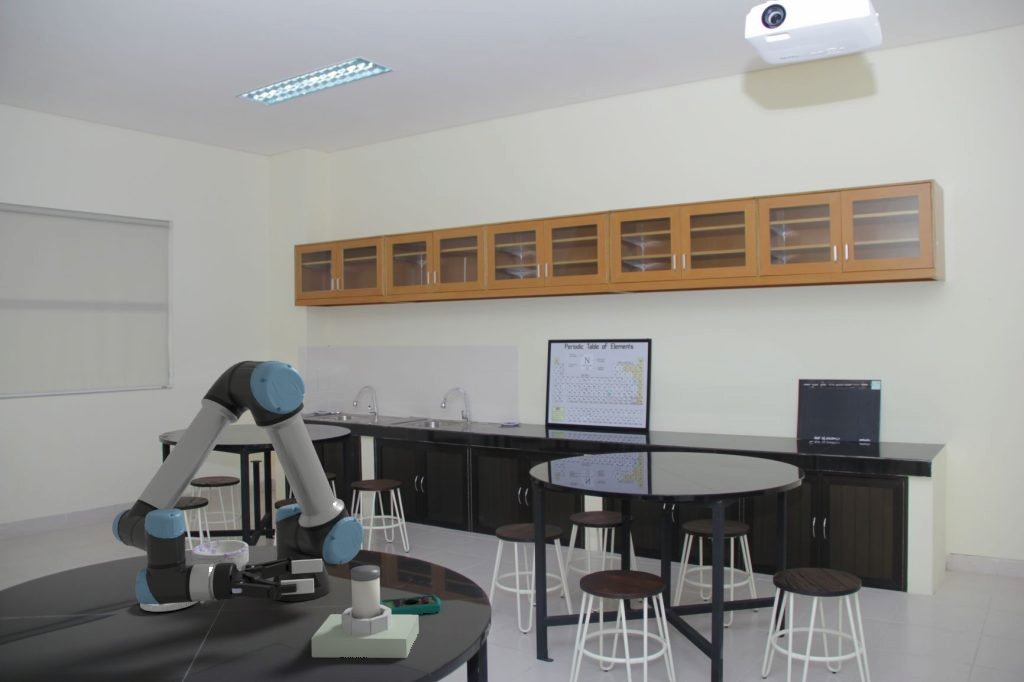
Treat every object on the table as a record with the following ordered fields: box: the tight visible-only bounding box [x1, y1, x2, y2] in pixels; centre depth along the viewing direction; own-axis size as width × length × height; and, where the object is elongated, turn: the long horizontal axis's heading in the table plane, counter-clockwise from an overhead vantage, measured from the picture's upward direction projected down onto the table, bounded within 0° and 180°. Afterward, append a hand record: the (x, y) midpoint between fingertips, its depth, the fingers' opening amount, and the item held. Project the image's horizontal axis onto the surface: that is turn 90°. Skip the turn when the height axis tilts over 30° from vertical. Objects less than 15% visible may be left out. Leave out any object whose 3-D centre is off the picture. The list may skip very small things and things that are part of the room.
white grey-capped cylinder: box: [350, 564, 381, 619], centre depth 174 cm, size 6×6×12 cm
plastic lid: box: [139, 601, 199, 613], centre depth 203 cm, size 14×14×2 cm
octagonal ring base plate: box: [311, 604, 420, 659], centre depth 174 cm, size 14×20×7 cm
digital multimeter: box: [380, 594, 442, 615], centre depth 195 cm, size 7×15×3 cm, turn 105°
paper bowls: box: [190, 539, 250, 571], centre depth 227 cm, size 15×15×8 cm
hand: (318, 575), depth 173 cm, fingers open, 13 cm apart
